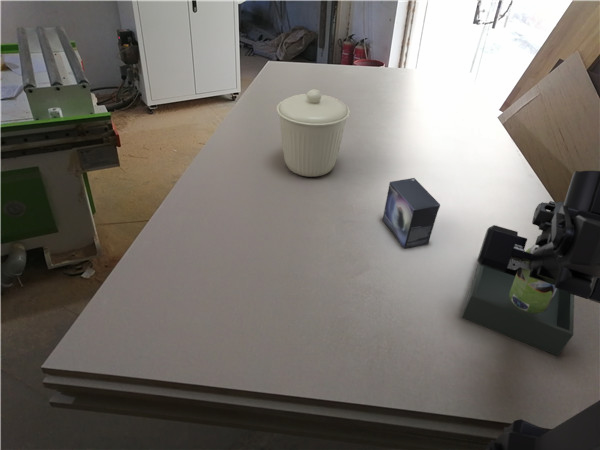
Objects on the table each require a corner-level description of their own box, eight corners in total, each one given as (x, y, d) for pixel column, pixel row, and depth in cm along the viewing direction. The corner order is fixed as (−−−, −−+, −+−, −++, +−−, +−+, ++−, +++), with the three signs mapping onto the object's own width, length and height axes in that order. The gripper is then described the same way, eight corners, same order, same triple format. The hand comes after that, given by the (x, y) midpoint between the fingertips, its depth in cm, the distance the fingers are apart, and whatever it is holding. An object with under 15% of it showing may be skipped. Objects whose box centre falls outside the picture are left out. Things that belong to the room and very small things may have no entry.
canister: (327, 147, 119) (333, 75, 106) (354, 179, 106) (365, 100, 93) (268, 156, 114) (267, 80, 101) (288, 190, 100) (290, 108, 87)
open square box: (557, 356, 65) (573, 334, 62) (461, 317, 71) (471, 295, 67) (561, 288, 77) (575, 267, 74) (479, 260, 83) (488, 239, 79)
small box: (380, 219, 92) (387, 180, 86) (405, 215, 94) (414, 176, 87) (402, 249, 84) (413, 208, 78) (429, 244, 86) (442, 204, 80)
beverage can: (552, 312, 68) (589, 259, 60) (520, 323, 65) (554, 270, 58) (524, 285, 72) (554, 234, 65) (492, 295, 70) (520, 243, 62)
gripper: (673, 221, 49) (614, 240, 64) (508, 180, 55) (490, 206, 70) (647, 309, 48) (594, 308, 63) (483, 258, 54) (470, 267, 69)
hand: (535, 269), depth 66 cm, fingers closed on beverage can, 6 cm apart
